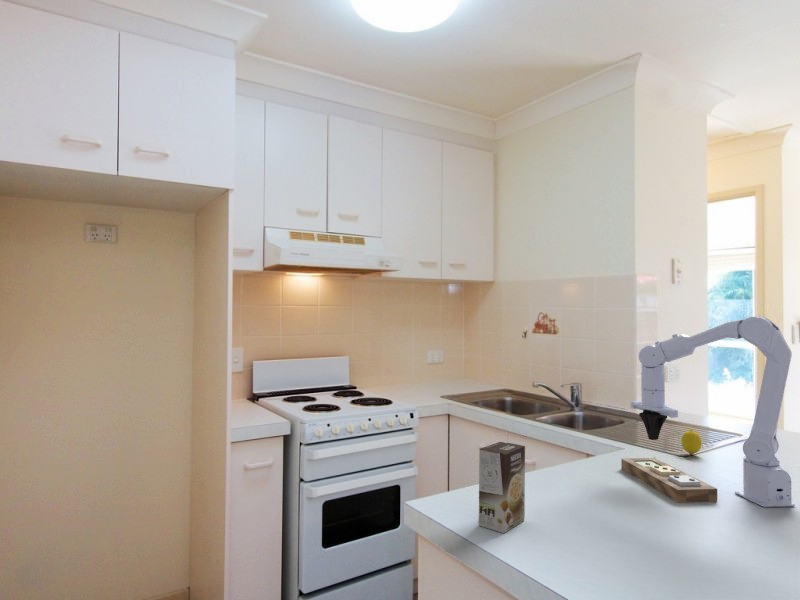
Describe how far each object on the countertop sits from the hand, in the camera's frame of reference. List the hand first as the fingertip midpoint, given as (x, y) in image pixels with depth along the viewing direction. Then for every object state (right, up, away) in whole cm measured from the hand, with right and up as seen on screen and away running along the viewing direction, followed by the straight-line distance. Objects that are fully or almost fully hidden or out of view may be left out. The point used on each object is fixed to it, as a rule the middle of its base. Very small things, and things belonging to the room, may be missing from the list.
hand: (653, 439), depth 141 cm
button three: (0, -9, -6) cm, 11 cm away
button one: (0, -10, +2) cm, 11 cm away
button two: (+1, -9, -14) cm, 16 cm away
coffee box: (-48, -9, -32) cm, 58 cm away
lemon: (+23, -11, +22) cm, 34 cm away
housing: (0, -10, -6) cm, 12 cm away
